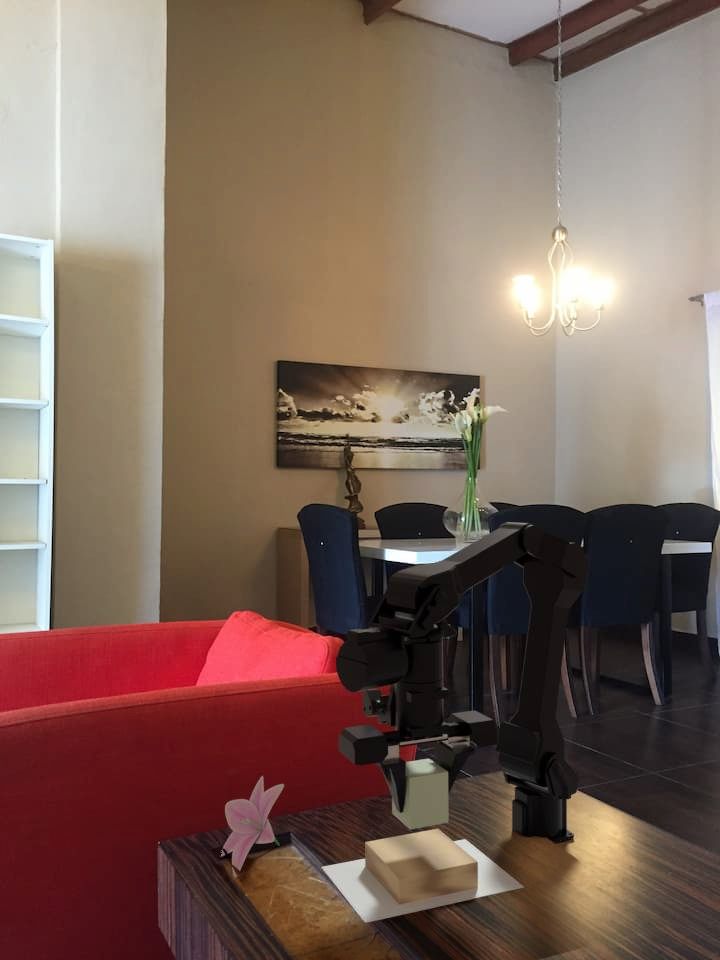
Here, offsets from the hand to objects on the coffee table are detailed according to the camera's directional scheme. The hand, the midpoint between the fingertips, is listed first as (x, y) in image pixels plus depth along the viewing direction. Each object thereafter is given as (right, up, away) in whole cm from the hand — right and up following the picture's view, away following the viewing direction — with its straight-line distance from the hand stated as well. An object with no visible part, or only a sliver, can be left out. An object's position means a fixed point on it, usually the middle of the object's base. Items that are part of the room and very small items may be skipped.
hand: (420, 807), depth 104 cm
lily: (-21, -9, +7) cm, 24 cm away
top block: (0, -1, 0) cm, 1 cm away
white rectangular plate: (0, -9, 0) cm, 9 cm away
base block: (0, -8, 0) cm, 8 cm away
